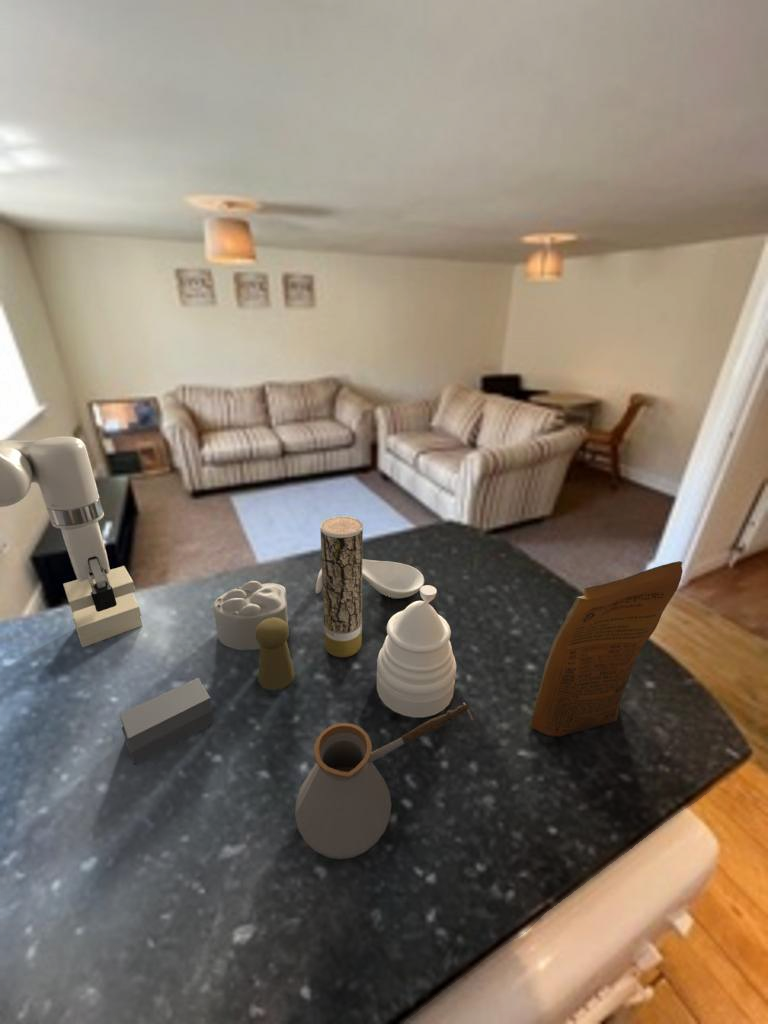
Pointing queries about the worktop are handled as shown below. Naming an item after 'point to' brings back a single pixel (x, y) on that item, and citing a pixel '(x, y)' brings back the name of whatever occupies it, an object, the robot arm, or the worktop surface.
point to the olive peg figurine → (274, 654)
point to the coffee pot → (350, 789)
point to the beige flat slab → (81, 591)
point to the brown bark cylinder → (342, 584)
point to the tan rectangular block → (107, 620)
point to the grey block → (166, 719)
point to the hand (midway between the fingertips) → (102, 597)
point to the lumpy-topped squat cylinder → (248, 613)
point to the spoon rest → (388, 578)
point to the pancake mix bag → (600, 650)
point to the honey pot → (417, 660)
